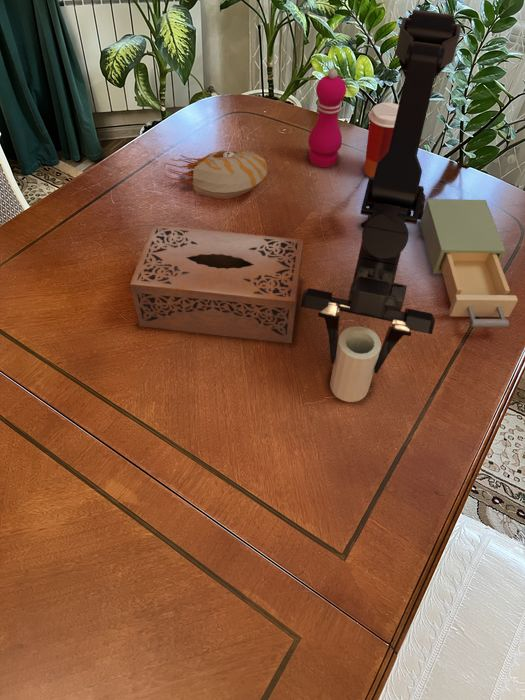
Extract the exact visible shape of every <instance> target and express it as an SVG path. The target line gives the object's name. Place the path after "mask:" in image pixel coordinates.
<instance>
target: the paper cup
mask: <svg viewBox="0 0 525 700" xmlns="http://www.w3.org/2000/svg"><path fill="white" fill-rule="evenodd" d="M398 107H399V103H395V102H389V101H388V102H387V101H386V102H380V103H377V104H375V105H374V106H373V107H372V108H371V109H370V111H369V112H368V116H367V117H368V118H369V125H368V133H367V142H366V151H365V159H364V168H363V169H364V174H365V175H366V176H367V177H374V175H375V171H376V166H377V163H378V162H379V161H380V160H381V159H382V158H383V156H384V155H385V154H386V153H387V152H388V151H389V147H390V142H391V138H392V133H393V129H394V124H395V120H396V115H397V111H398Z"/></svg>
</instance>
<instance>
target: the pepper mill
mask: <svg viewBox="0 0 525 700" xmlns="http://www.w3.org/2000/svg"><path fill="white" fill-rule="evenodd" d="M346 94H347V85H346V82H345V80H344V79H343V78H342V77H340V76H338V70H337V69H336V68H331V69H330V70H329V71H328V75H325V76H323V77H321V78H320V79H319V81H318V83H317V84H316V87H315V95H316V97H317V98H318V99H317V102H316V103H317V104H316V108H317V110H318V117H317V120H316V122H315V124H314V126H313V128H312V129H311V131H310V134H309V136H308V146H309V149H310V150H309V154H308V156H309V157H308V160H309V162H310V163H311V164H312V165H313V166H316V167H319V168H329V167H333V166H334V165H336V164H337V162H338V159H339V158H338V157H339V152H338V151H340V149H341V147H342V143H343V137H342V131H341V129H340V126H339V122H338V117H339V112H340V111H341V110H342V105H343V100H344V99H345V97H346Z"/></svg>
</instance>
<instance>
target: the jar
mask: <svg viewBox="0 0 525 700" xmlns="http://www.w3.org/2000/svg"><path fill="white" fill-rule="evenodd" d="M381 347H382V342H381V339H380V336H379V335H378V334H377V333H376V332H375V331H374V330H373V329H370V328H368V327H366V326H359V325H355V326H349V327H347V328H346V329H343V331H342V332H341V333H340V335H338V340H337V350H336V356H335V361H334V364H332V371H331V375H330V381H329V387H330V391H331V392H332V394H333V395H334V396H335V397H336V398H338V399H339V400H341V401H344V402H348V403H355V402H359V401H361V400H363V399H364V398H365V397H366V396H367V395H368V392H369V390H370V386H371V384H372V380H373V377H374V374H375V373H374V370H375V366H376V363H377V360H378V357H379V353H380V350H381Z"/></svg>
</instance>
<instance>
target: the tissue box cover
mask: <svg viewBox="0 0 525 700" xmlns="http://www.w3.org/2000/svg"><path fill="white" fill-rule="evenodd" d="M303 248H304V239H300V238H292V237H282V236H274V235H273V236H271V235H264V234H263V235H261V234H252V233H243V232H232V231H222V230H213V229H204V228H203V229H202V228H193V227H182V226H173V225H165V224H164V225H163V224H154V223H153V224H152V226H151V228H150V231H149V233H148V236H147V239H146V241H145V244H144V246H143V249H142V252H141V253H140V256H139V260H138V262H137V264H136V268H135V270H134V273H133V276H132V279H131V280H130V283H129V286H130V291H131V296H132V298H133V299H132V300H133V304H134V308H135V313H136V317H137V321H138V325H139V327H144V328H152V329H154V328H155V329H163V330H170V331H177V332H178V331H180V332H189V333H197V334H204V335H205V334H206V335H212V336H213V335H214V336H215V335H216V336H223V337H233V338H240V339H249V340H257V341H267V342H276V343H283V344H284V343H285V344H292V342H293V333H294V326H295V317H296V310H297V302H298V295H299V286H300V278H301V267H302V258H303Z"/></svg>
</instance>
